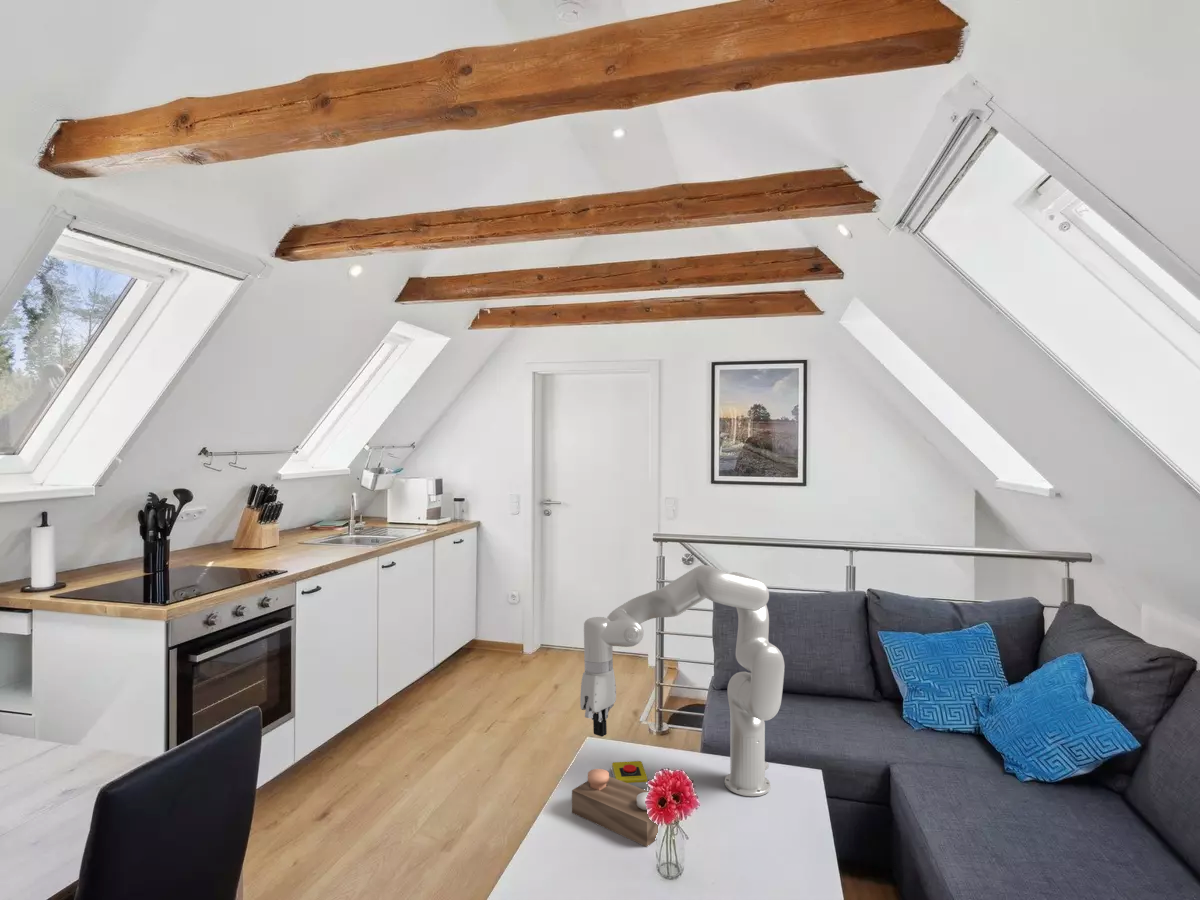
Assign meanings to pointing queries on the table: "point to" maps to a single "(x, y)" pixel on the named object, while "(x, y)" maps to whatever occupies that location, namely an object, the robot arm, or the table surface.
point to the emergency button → (630, 773)
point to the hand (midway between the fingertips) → (600, 734)
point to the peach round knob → (598, 778)
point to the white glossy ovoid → (642, 800)
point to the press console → (615, 810)
